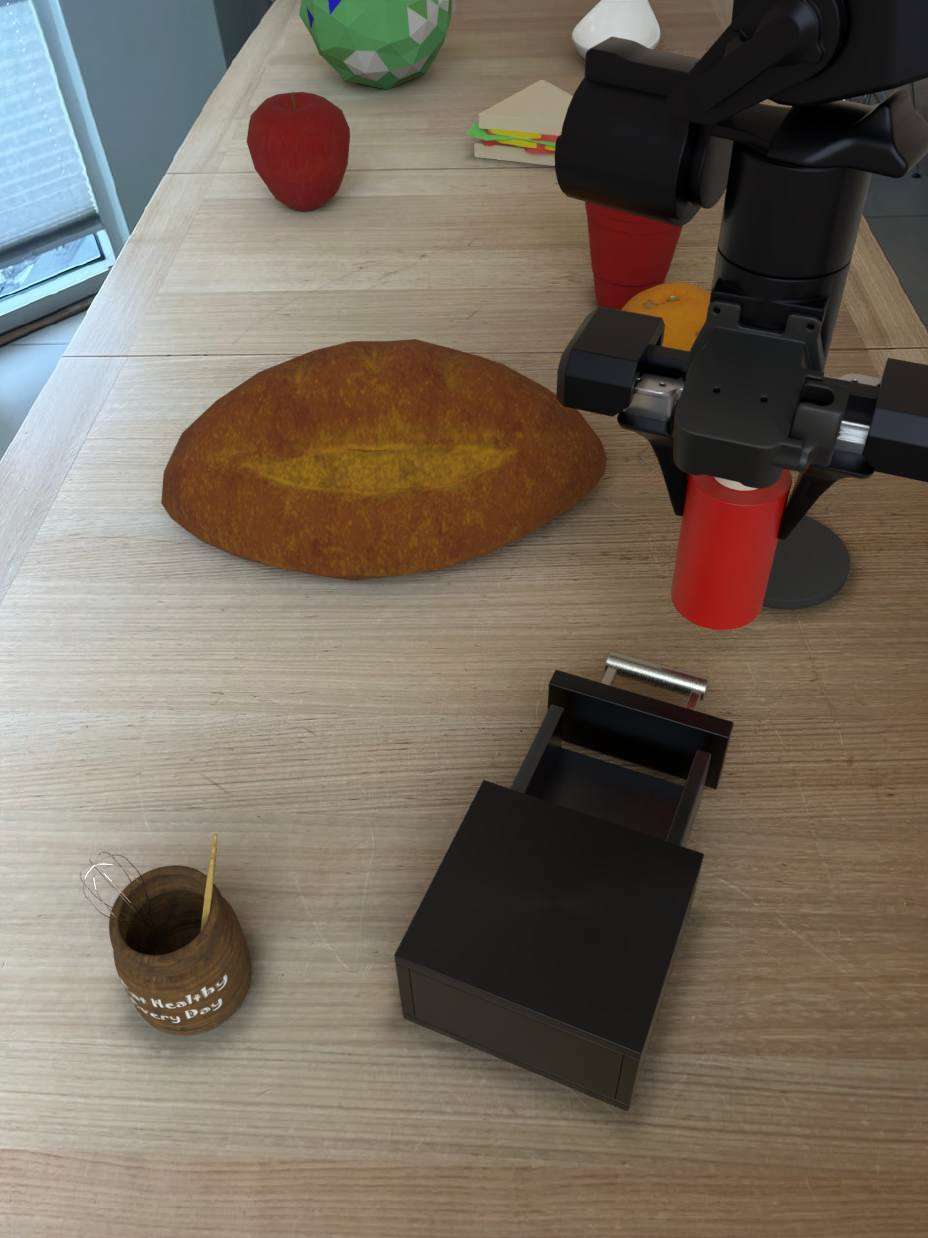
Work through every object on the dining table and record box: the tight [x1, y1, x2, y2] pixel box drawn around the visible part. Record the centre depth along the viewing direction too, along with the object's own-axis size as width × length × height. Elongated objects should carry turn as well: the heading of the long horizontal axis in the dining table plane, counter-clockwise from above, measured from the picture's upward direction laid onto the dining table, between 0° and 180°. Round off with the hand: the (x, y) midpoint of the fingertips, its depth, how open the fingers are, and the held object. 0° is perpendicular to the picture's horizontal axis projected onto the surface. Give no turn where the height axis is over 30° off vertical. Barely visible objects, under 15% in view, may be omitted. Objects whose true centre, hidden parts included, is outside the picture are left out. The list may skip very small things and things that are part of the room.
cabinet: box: [393, 779, 705, 1112], centre depth 51 cm, size 10×11×6 cm
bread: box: [160, 338, 608, 581], centre depth 76 cm, size 21×33×12 cm, turn 92°
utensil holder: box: [79, 832, 252, 1037], centre depth 49 cm, size 6×6×12 cm
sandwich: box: [465, 79, 573, 167], centre depth 122 cm, size 15×20×5 cm
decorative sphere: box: [298, 0, 457, 90], centre depth 136 cm, size 19×20×20 cm
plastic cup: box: [584, 201, 684, 310], centre depth 96 cm, size 11×11×12 cm
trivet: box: [762, 515, 851, 610], centre depth 74 cm, size 10×10×1 cm
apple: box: [246, 91, 351, 213], centre depth 113 cm, size 11×11×12 cm
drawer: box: [509, 649, 735, 848], centre depth 59 cm, size 14×10×5 cm
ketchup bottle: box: [670, 469, 793, 631], centre depth 58 cm, size 5×5×11 cm
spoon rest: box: [571, 0, 661, 60], centre depth 147 cm, size 24×12×7 cm, turn 167°
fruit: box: [622, 281, 711, 351], centre depth 88 cm, size 10×10×8 cm
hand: (730, 523), depth 58 cm, fingers closed on ketchup bottle, 5 cm apart
